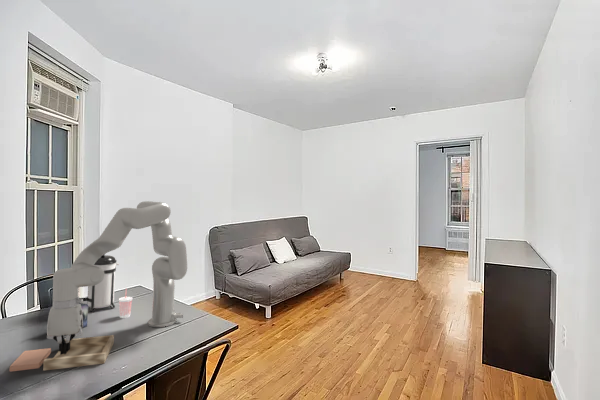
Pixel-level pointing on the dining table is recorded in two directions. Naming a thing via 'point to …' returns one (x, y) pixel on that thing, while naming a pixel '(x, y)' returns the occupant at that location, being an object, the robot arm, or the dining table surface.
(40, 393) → the dining table surface
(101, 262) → the coffee press
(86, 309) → the small box
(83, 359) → the wooden tray
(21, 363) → the cover plate
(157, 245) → the robot arm
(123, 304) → the beverage cup
